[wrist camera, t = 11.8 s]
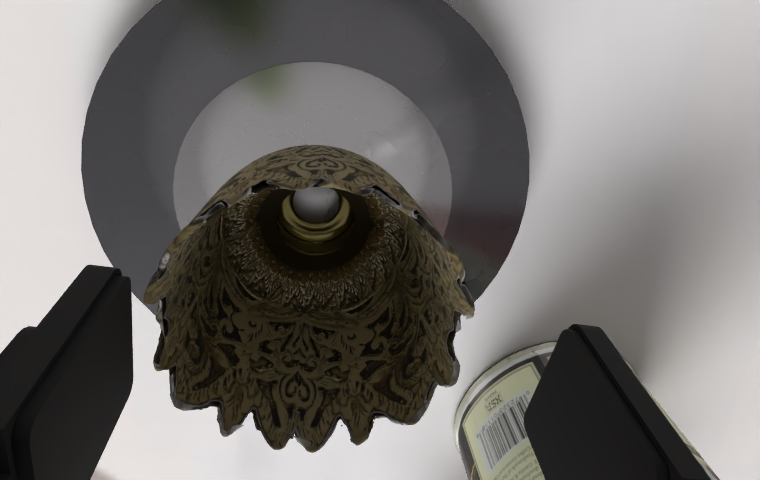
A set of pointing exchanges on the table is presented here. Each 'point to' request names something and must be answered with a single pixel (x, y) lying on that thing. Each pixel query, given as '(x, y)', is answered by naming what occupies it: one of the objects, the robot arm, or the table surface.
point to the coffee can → (511, 419)
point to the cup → (309, 302)
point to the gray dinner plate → (303, 119)
